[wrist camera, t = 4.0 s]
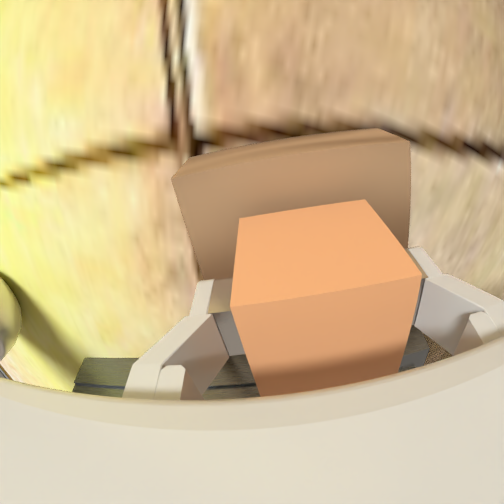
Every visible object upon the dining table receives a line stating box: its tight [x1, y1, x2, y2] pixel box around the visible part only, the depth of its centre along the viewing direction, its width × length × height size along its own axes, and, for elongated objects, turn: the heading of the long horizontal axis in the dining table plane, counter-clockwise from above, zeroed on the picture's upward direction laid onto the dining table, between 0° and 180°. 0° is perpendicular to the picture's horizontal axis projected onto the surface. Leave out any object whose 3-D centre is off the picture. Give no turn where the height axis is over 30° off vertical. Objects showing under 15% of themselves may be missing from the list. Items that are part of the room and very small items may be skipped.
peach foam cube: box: [230, 199, 422, 397], centre depth 8 cm, size 4×4×4 cm
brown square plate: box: [171, 128, 411, 280], centre depth 12 cm, size 8×8×3 cm
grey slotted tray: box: [72, 325, 430, 400], centre depth 18 cm, size 8×24×4 cm, turn 101°
